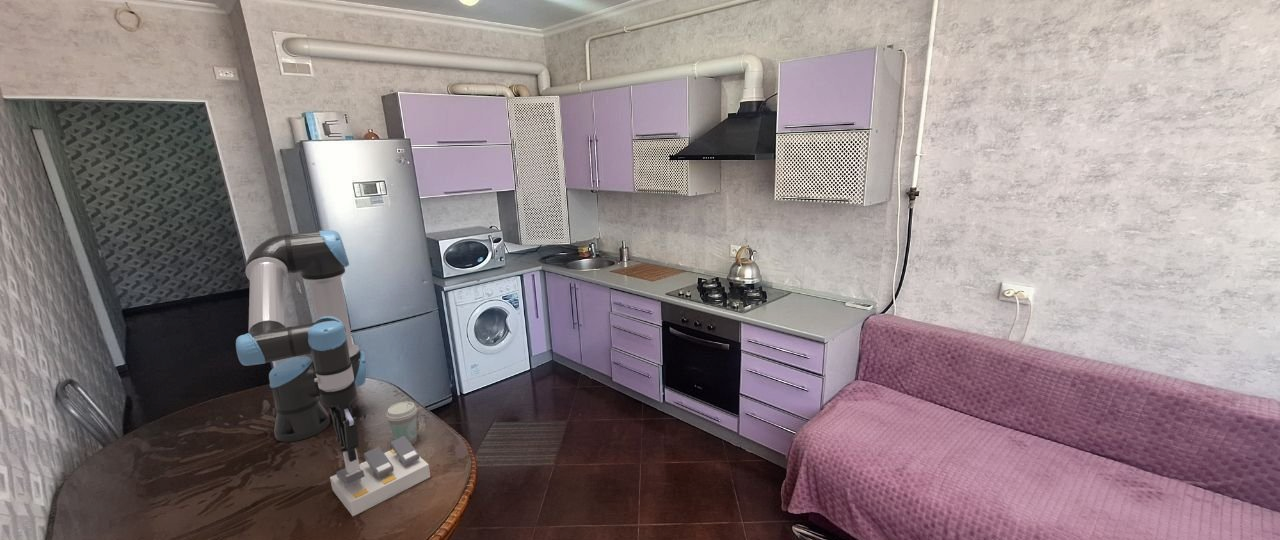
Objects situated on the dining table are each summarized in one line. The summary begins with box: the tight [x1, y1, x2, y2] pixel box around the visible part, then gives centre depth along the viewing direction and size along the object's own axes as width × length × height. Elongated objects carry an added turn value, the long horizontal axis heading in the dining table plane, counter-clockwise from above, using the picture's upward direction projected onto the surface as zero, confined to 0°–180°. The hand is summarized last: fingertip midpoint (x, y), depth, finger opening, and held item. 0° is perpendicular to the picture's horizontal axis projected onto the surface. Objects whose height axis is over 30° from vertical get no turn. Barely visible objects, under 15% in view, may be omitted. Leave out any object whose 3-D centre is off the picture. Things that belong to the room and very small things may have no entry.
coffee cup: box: [386, 401, 418, 446], centre depth 156 cm, size 9×8×12 cm
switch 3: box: [389, 436, 420, 466], centre depth 141 cm, size 9×4×2 cm, turn 48°
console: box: [329, 448, 431, 517], centre depth 138 cm, size 15×20×6 cm
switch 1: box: [335, 467, 365, 484], centre depth 132 cm, size 9×4×2 cm, turn 47°
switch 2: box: [363, 446, 394, 478], centre depth 136 cm, size 9×4×2 cm, turn 48°
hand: (353, 469), depth 128 cm, fingers closed
